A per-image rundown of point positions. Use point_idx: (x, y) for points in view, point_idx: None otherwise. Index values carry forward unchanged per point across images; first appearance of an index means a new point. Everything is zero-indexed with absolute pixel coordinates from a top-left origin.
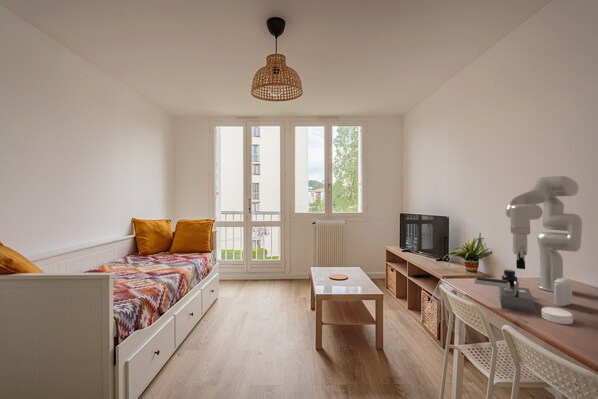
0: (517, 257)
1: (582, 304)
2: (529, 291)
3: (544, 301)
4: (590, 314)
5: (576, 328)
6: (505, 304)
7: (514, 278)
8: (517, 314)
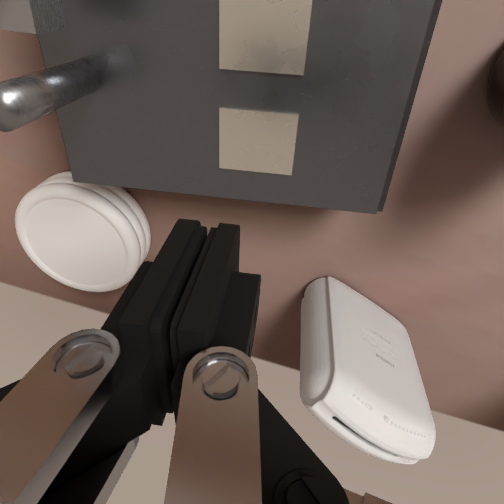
0: (21, 401)
1: None
2: (282, 200)
3: (375, 250)
4: None
5: (29, 258)
6: None
7: None
8: (20, 43)
